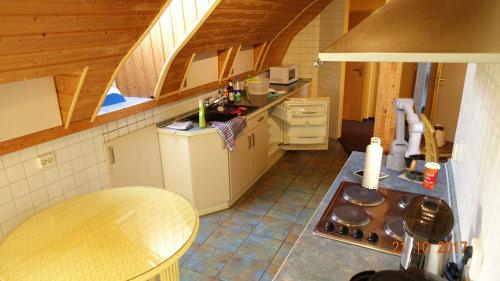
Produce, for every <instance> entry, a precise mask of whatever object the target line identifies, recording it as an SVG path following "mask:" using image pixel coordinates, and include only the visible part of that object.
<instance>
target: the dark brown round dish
mask: <svg viewBox="0 0 500 281" xmlns="http://www.w3.org/2000/svg"><path fill="white" fill-rule="evenodd" d="M406 178H407V179H409V180H408V181H410V180H412V181H411V182H414V181H416V182H415V183H417V182H423V181H424V171H421V170H417V169H415V170H414V171H409V170H406ZM407 179H406V180H407Z"/></svg>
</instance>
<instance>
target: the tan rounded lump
mask: <svg viewBox="0 0 500 281" xmlns="http://www.w3.org/2000/svg"><path fill="white" fill-rule="evenodd" d="M416 164H417V161H416V160H413V161H412V164H411V167H410V168H407V167H406V164H404V165H405V166H404V168H405V169H404V170H406V171H408V170H409V171H414V170H416Z"/></svg>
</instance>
